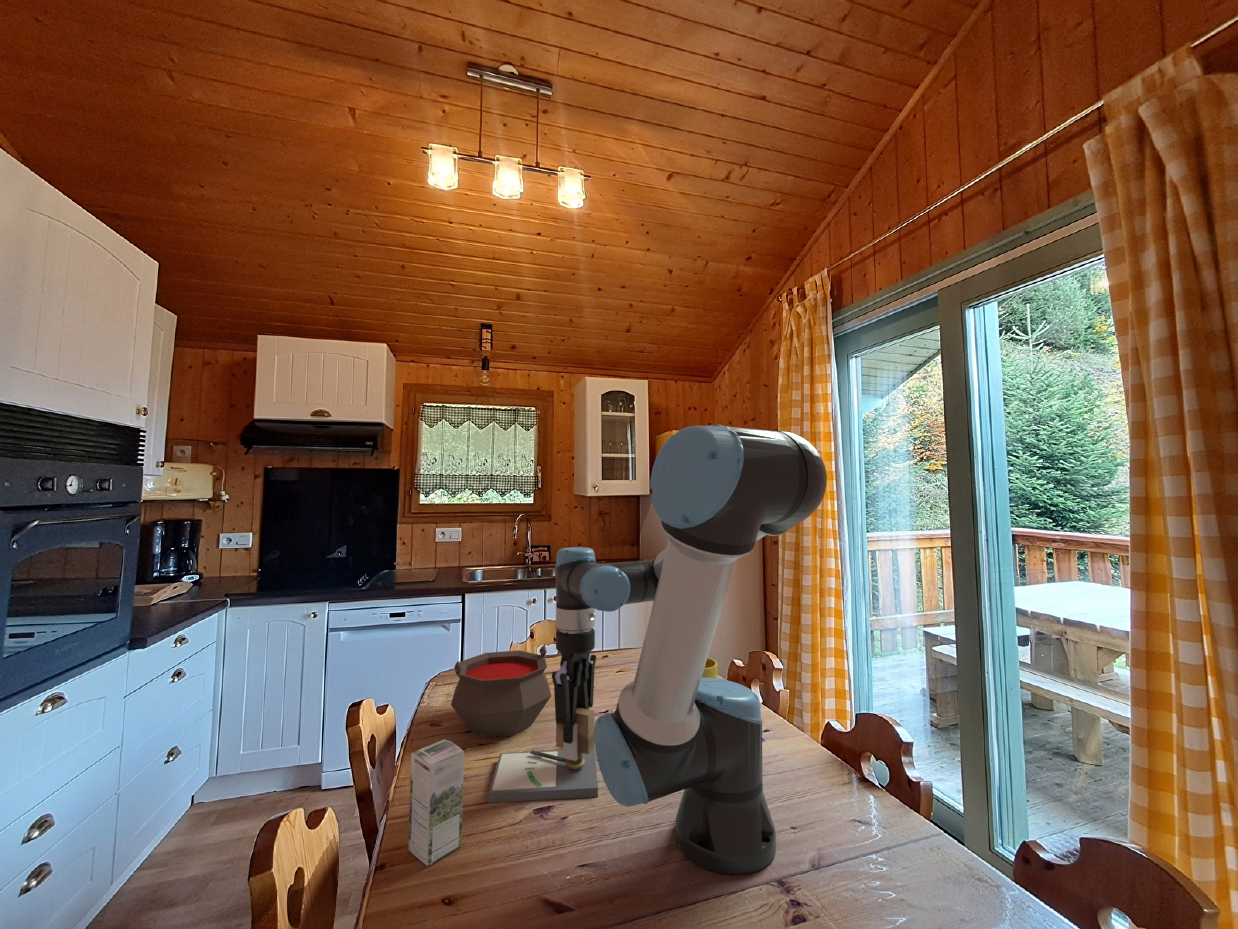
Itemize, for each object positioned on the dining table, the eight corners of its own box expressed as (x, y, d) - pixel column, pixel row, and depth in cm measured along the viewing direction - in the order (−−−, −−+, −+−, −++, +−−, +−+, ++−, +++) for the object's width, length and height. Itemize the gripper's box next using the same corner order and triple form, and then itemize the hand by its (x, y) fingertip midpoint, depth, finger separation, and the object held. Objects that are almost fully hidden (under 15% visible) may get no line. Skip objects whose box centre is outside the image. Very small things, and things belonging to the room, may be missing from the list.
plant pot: (683, 709, 125) (683, 669, 126) (673, 693, 135) (673, 656, 136) (723, 707, 127) (722, 667, 127) (710, 691, 137) (710, 654, 137)
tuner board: (597, 796, 89) (597, 785, 89) (488, 802, 87) (488, 791, 87) (594, 756, 103) (594, 746, 103) (500, 761, 101) (500, 751, 101)
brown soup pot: (527, 695, 134) (527, 633, 135) (572, 729, 115) (572, 656, 116) (435, 718, 121) (436, 649, 122) (468, 761, 101) (469, 677, 102)
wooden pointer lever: (595, 763, 96) (595, 709, 96) (586, 773, 92) (586, 716, 93) (536, 749, 101) (536, 697, 102) (525, 757, 98) (526, 704, 99)
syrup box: (441, 831, 80) (443, 736, 81) (463, 847, 76) (465, 748, 77) (407, 851, 75) (409, 750, 76) (428, 869, 71) (430, 763, 72)
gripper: (571, 641, 88) (571, 780, 87) (610, 621, 103) (610, 740, 101) (535, 636, 92) (534, 770, 90) (578, 617, 106) (578, 732, 104)
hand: (575, 754), depth 96 cm, fingers closed on wooden pointer lever, 3 cm apart
